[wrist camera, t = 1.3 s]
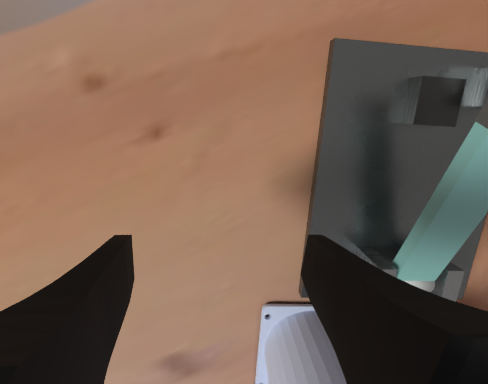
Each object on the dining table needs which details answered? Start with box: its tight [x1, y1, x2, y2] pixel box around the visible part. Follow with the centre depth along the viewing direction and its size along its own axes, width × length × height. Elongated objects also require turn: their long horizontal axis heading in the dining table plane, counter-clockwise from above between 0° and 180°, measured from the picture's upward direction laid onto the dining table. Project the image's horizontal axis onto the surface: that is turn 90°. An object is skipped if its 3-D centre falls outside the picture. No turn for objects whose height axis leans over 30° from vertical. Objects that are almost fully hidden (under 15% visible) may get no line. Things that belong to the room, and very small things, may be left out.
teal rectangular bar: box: [391, 98, 488, 292], centre depth 18 cm, size 15×3×2 cm, turn 176°
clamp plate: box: [299, 38, 488, 302], centre depth 20 cm, size 19×14×6 cm
